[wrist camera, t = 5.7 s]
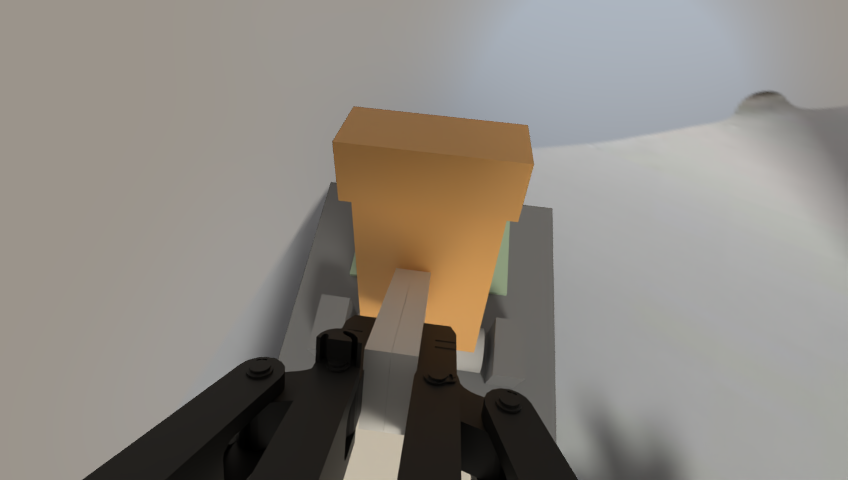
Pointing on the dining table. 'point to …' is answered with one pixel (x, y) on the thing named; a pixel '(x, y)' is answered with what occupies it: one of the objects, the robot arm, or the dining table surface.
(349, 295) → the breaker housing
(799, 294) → the dining table surface
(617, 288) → the dining table surface
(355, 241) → the breaker lever
